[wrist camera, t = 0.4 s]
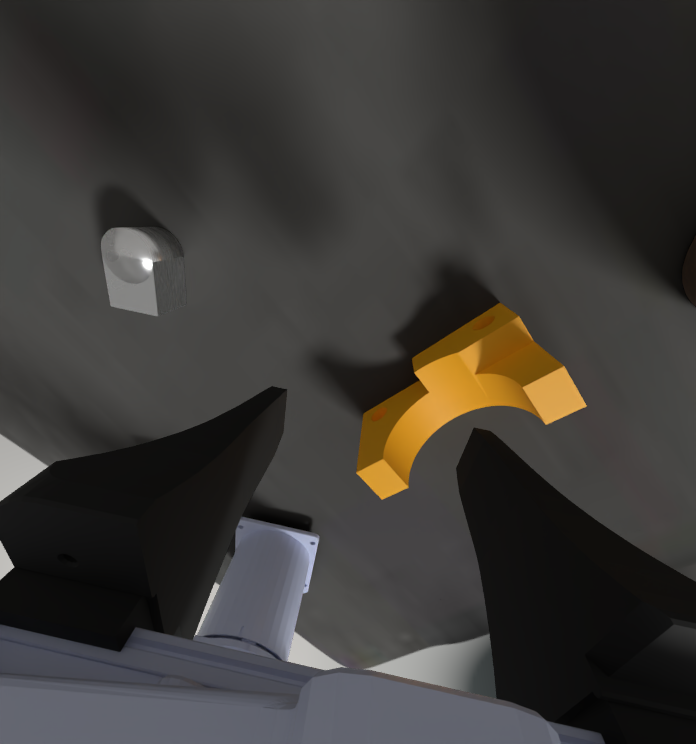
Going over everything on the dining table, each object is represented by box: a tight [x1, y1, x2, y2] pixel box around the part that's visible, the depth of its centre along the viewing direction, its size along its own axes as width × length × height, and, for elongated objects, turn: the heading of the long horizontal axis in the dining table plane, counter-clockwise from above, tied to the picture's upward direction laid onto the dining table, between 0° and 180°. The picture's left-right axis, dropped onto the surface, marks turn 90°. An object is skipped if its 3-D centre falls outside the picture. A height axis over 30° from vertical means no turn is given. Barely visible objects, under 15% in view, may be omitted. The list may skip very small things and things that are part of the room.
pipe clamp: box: [356, 303, 586, 499], centre depth 19 cm, size 12×4×6 cm, turn 128°
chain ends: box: [101, 227, 186, 316], centre depth 23 cm, size 24×3×3 cm, turn 170°
